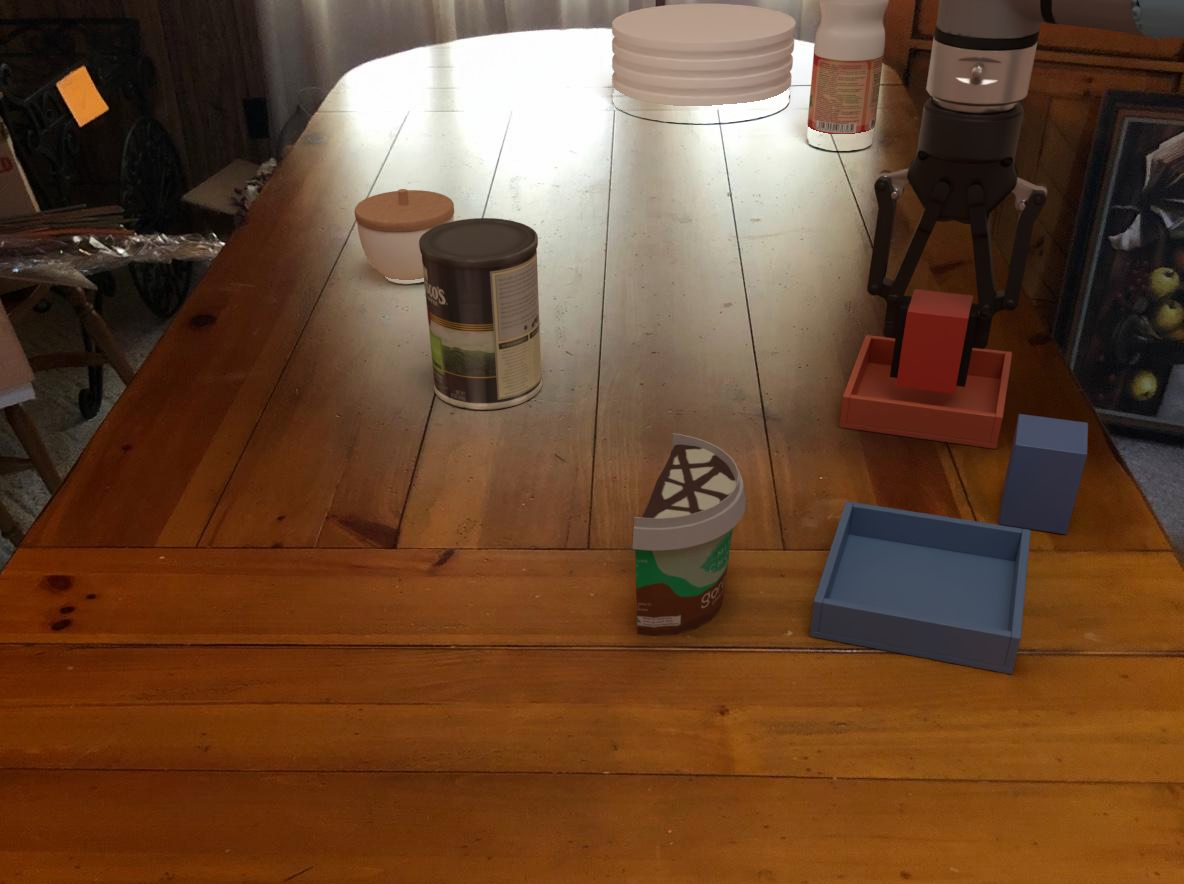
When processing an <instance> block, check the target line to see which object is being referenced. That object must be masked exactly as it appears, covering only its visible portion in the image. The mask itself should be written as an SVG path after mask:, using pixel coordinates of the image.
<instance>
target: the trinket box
mask: <svg viewBox="0 0 1184 884" xmlns="http://www.w3.org/2000/svg"><path fill="white" fill-rule="evenodd" d="M454 203H455V202H454V201H453V200H452V198H450V197H449V196H447V195H446V194H442V193H440V192H436V191H429V190H423V189H422V190H421V189H420V190H418V189H406V188H400V189H398V190H394V191H392V190H391V191H387V192H382V193H378V194H375V195H372V196H369V197H366V198H364V199H363V200H361V201H360V202H358V203H357V204H356V206H355V208H354V218H355V220H356V225H357V231H358V237H359V241H360V244H361V248H362V250H363V253H364V256H365V257H366V259H367V261H368V262H369V264H370V265H371V267H373V268H374V270H376V272H378V273H379V274H381V276H383V277H384V276H386V277H388V278H391V279H399V280H415V279H421V278H424V274H423V263H422V254H421V252H420V247H419V240H420V238H421V236H422V235H423V234H424V233H425V232H427V231H428V230H430V229H432V228H434V227H436V226H439V225H442V224H445V223H449V222H453V221H455V217H454V214H455V204H454Z"/></svg>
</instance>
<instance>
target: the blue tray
mask: <svg viewBox="0 0 1184 884" xmlns="http://www.w3.org/2000/svg"><path fill="white" fill-rule="evenodd" d="M1031 533H1032V529H1026V528H1019V527H1013V526H1006V525H1000V524H995V523H989V522H983V521H977V520H969V519H963V518H957V517H950V516H944V515H937V514H931V513H924V512H918V511H912V510H906V509H899V508H893V507H886V506H882V505H881V506H880V505H874V504H866V503H861V502H854V501H845V502H844V505H843V508H842V512H841V515H840V518H839V521H838V524H837V527H836V530H835V533H834V536H833V539H832V542H831V546H830V549H829V551H828V555H827V558H826V561H825V564H824V568H823V571H822V574H821V577H820V580H819V584H818V586H817V589H816V592H815V595H814V598H813V602H812V611H811V621H810V628H809V629H810V630H809V637H812V638H815V639H816V638H817V639H821V640H828V641H832V642H838V643H841V644H842V643H843V644H849V645H852V646H853V645H854V646H859V647H864V648H869V649H875V650H880V651H885V652H891V653H897V654H900V655H901V654H902V655H907V656H911V657H912V656H913V657H917V658H923V659H928V660H934V661H939V662H943V663H949V664H955V665H960V666H965V667H969V668H970V667H971V668H974V669H975V668H976V669H981V670H987V671H991V672H996V673H1002V674H1008V675H1013V673H1014V668H1015V664H1016V660H1017V656H1018V651H1019V649H1020V644H1021V640H1022V632H1023V620H1024V608H1025V598H1026V587H1027V576H1028V567H1029V566H1028V565H1029V557H1030V556H1029V554H1030V553H1029V552H1030V544H1031V535H1032V534H1031Z"/></svg>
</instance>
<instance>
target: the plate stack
mask: <svg viewBox="0 0 1184 884" xmlns="http://www.w3.org/2000/svg"><path fill="white" fill-rule="evenodd" d="M796 26H797V23H796V19H795V18H794V17H792V16H791V15H789V14H787V13H785V12H782V11H778V10H775V9H771V8H766V7H760V6H754V5H753V6H752V5H746V4H745V5H744V4H733V3H679V4H668V5H658V6H651V7H650V6H649V7H645V8H640V9H635V10H631V11H628V12H625V13H623V14H620V15H619V16H617V17H615V18H614V19H613V20H612V23H611V33H612V35H613V36H614V37H613V38H612V40H611V51H612V54H613V56H612V58H611V68H612V70H613V73H612V75H611V76H612V77H611V78H612V79H611V80H612V81H611V82H612V83H613V85H612V87H613V86H614V88H615V89H616V90H617V91H619V92H620V93H622V94H624V95H625V96H628V97H630V98H633V99H636V100H640V101H644V102H649V103H655V104H663V105H673V106H712V105H723V104H737V103H747V102H754V101H760V100H765V99H768V98H771V97H774V96H777V95H779V94H781V93H783V92H784V91H786V90H787V89H788V88H789V87H790V88H791V86H792V78H793V76H792V72H791V71H792V69H793V63H794V57H793V55H792V54H793V52H794V49H795V39H794V35H795V33H796ZM612 83H611V84H612ZM790 85H791V86H790ZM614 88H613V89H614ZM790 88H789V89H790Z"/></svg>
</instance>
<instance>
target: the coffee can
mask: <svg viewBox="0 0 1184 884" xmlns="http://www.w3.org/2000/svg"><path fill="white" fill-rule="evenodd" d="M538 245H539V236H538V233H537V231H536V230H535V229H533V228H532V227H531V226H528V225H527V224H524V223H522V222H518V221H514V220H510V219H504V218H496V217H477V218H475V217H474V218H466V219H457V220H454V221H453V222H449V223H445V224H442V225H439V226H436V227H434V228H432V229H430V230H428V231H427V232H425V233H424V234H423V235H422V236H421V238H420V240H419V247H420V252H421V254H422V263H423V274H424V283H423V284H424V291H425V303H426V313H427V321H428V331H429V342H430V351H431V353H430V354H431V362H432V373H433V391H434V393H435V395H436V396H437V397H438V398H439V399H440V400H441V401H443V402H445V403H446V404H448V405H450V406H454V407H457V408H460V409H466V410H471V411H472V410H473V411H493V410H501V409H502V410H503V409H507V408H511V407H512V408H513V407H515V406H518V405H519V406H520V404H524V403H526V402H527V401H529V400H531V399H533V398H534V397H536V396H537V394H538V393H539V392H540V391H541V389H542V387H543V383H544V381H543V377H542V375H543V374H542V352H541V329H540V303H539V301H540V300H539V276H538V275H539V274H538V273H539V272H538V249H537V248H538V247H539V246H538Z"/></svg>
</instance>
